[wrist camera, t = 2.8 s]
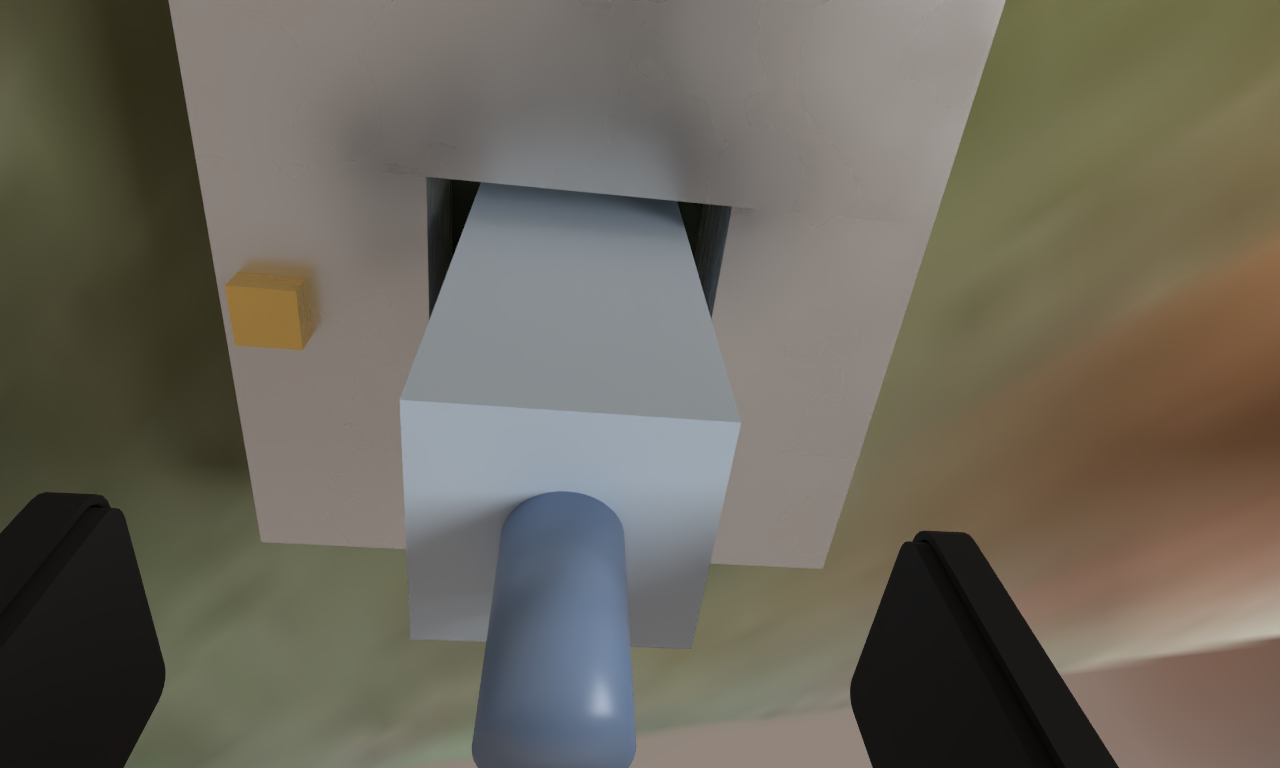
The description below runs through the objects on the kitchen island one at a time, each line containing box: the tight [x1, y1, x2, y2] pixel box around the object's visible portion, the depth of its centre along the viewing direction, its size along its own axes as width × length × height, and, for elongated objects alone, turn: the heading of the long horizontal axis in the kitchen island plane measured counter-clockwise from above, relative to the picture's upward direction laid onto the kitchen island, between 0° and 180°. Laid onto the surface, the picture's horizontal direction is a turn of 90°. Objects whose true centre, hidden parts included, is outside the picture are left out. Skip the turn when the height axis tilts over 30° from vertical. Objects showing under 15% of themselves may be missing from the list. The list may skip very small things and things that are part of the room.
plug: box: [400, 182, 741, 768], centre depth 13 cm, size 5×4×12 cm
